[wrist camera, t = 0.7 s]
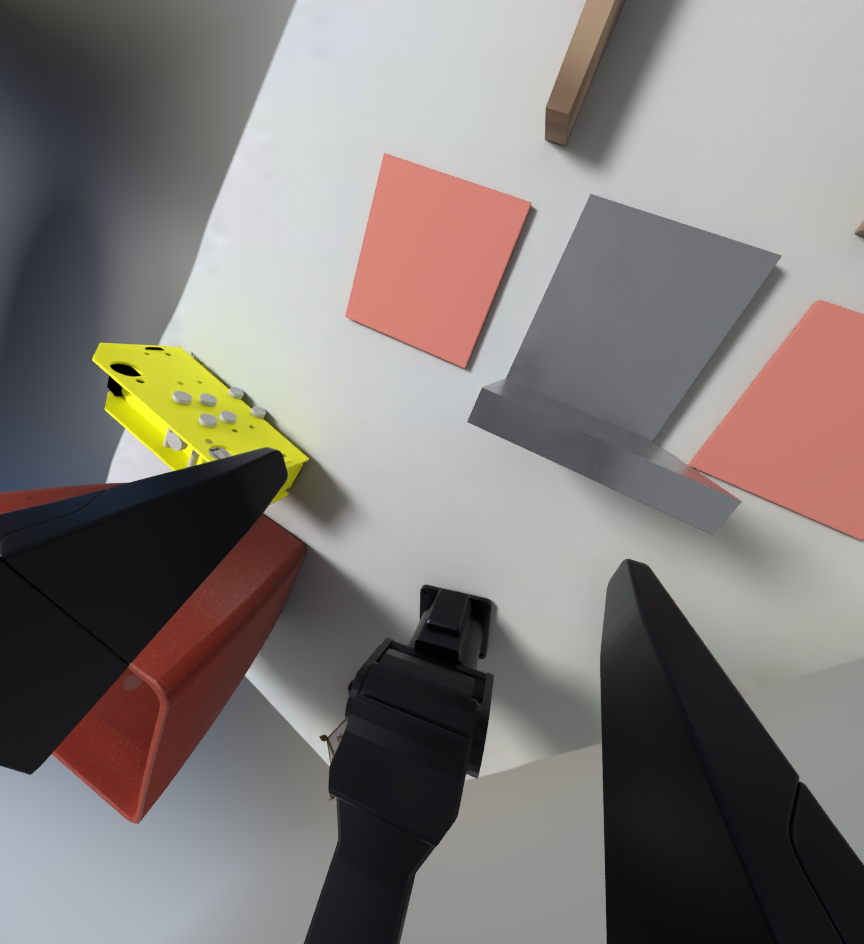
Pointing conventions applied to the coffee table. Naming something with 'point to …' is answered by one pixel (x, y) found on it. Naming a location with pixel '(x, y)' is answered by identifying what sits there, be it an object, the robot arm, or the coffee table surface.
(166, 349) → the yellow toy chassis
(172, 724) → the plant pot
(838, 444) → the mat
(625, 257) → the grey bookend
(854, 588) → the coffee table surface
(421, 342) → the mat
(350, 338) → the coffee table surface
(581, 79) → the walnut corral
